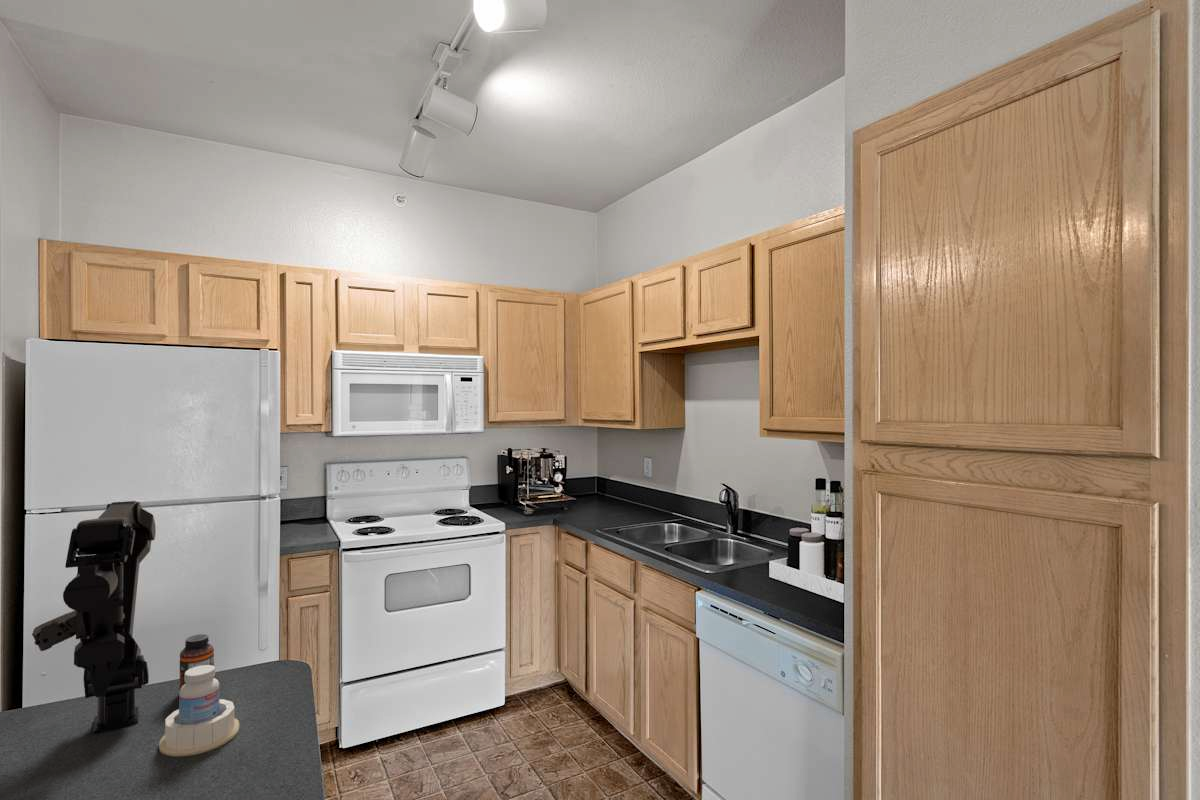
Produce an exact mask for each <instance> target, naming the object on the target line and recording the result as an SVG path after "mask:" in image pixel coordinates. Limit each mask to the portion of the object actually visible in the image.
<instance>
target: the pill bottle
mask: <svg viewBox="0 0 1200 800" xmlns="http://www.w3.org/2000/svg"><path fill="white" fill-rule="evenodd" d="M215 674H216V667H215V665H214V666H212V665H201V666H197V667H193V668H191V669H189V670H187V671H186V672H185V674H184V680H185V683H186V684H184V685H183V686H182V688H181V689H180V688H179V689H180V690H179V695H178V698H179V699H178V705H179V706H178V709H179V724H180V725H193V724H199V723H202V722H206V721H210V720H212V719H214V718H216V717H218V716H219V699H220V682H219V680H218V679H217V678H215V676H216V675H215ZM213 677H214V678H213Z"/></svg>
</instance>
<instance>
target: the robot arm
mask: <svg viewBox="0 0 1200 800" xmlns="http://www.w3.org/2000/svg"><path fill="white" fill-rule="evenodd" d="M155 522H156V521H155V517H154V515H153V514H152V513H150V512H149V511H147V510H146V509H144V508H143V507H142V506H141V503H140V501H137V500H130V501H129V500H128V501H114V502H111V503H107V505H106V508H105V510H104V512H102V514H100V515H99V516H98V518H93V519H85V520H84V519H83V520H81V521H79V522H78V523H77V525H76V528H73V529H72V530H71V534H70V539H69V544H68V550H67V554H66V555H67V556H66V561H65V565H64V566H65V569H68V568H77V573H76V576H74V578H72V579H71V580H70V581H69V582H68V583H67V585H66V586H65V588H64V590H63V592H62V598H63V602H64V603H65V605H66V606H67V607H68V608H69V609H71V610H72V611H70V612H67V613H64V614H63V615H60V616H58V617H55V618H53V619H51V620H49V621H46V622H44V623H41V624H39V625H37V626H36V627H34V628H33V631H32V633H31V635H32V637H33V639H34V645H35V646H38V648H39V651H40V652H44V651H47V650H50V649H51V648H52V647H54V646H55V645H58V644H60V643H61V642H64V641H66V640H68V639H70V638H72V637H75V640H79V642H78V643H77V644H76V645H75V646H74V652H73V665H74V666H75V667H77V668H81V669H84V670H83V686H84V687H83V688H84V697H85V699H90V698H93V697H96V716H95V717H94V720H93V721H94V722H93V734H96V733H97V734H98V733H101V732H104V731H109V730H113V729H117V728H120V727H126V726H128V725H133V724H136V723H138V722H139V707H138V706H136V701H137V698H136V696H137V694H136V692H137V690H136V689H143V686H145V685H148V684H149V681H150V680H149V679H150V678H149V677H150V676H149V675H150V674H149V666H148V662H147V661H146V659H145V657H144V655H143V654H141V653H142V650H141V647H140V646H139V644H138V643H137V642H136V640H135V638H134V637H133V633H134V632H133V631H134V623H135V621H134V620H135V612H136V603H137V592H138V591H137V590H138V583H139V573H140V564H141V563H142V561H143V560H144V559H145V557H147V556H148V554H149V553H150V552H151V545H152V542H153V541H155V539H156V533H157V532H156V530H157V528H156V523H155Z"/></svg>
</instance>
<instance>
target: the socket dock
mask: <svg viewBox="0 0 1200 800" xmlns="http://www.w3.org/2000/svg"><path fill="white" fill-rule="evenodd" d="M164 722H165V725H164V728H165V729H164V732H165V733H164V735H163V736H162V737H161V738H160V739H159V741H158V742H159V743H158V750H159V751H160V753H161V754H163V755H164V756H166V757H173V758H175V757H176V758H179V757H180V758H182V757H189V756H196V755H200V754H203V753H206V752H210V751H212V750H213V751H214V749H218V748H219V747H222V746H224V745H225V744H226V743H229V742H230V741H232V740H233V739H234V738H235V737H236V736H237V735H238V734H239V732H240V731H239V730H240V721H239V720H238V719H237V718H236V717H235V705H234V702H233V701H231V700H227V699H223V698H219V716H218V717H216V718H214V719H212V720H210V721H206V722H202V723H199V724H193V725H180V724H179V708H178V709H176V710H174V711H172V712H171V713H170V714H169V715H168V716H167V717H166V718H165V719H164Z"/></svg>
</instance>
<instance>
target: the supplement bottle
mask: <svg viewBox="0 0 1200 800" xmlns="http://www.w3.org/2000/svg"><path fill="white" fill-rule="evenodd" d="M184 646H185V647H184V648H183V649H182V650H181V651H180V653H179V689H178V690H179V691H180V689H181V688H182V686H183V685H184V684H186V683H185V680H184V674H185V672H186V671H187V670H189V669H191V668H193V667H197V666H201V665H212V666H214V667H215V649H214V648H215V647H214V646H213V644H210V640H209V635H208V634H205V633H200V634H194V635H191V636H188V637H187V638H186V639H185V645H184ZM213 678H215V676H214V677H213Z"/></svg>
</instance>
